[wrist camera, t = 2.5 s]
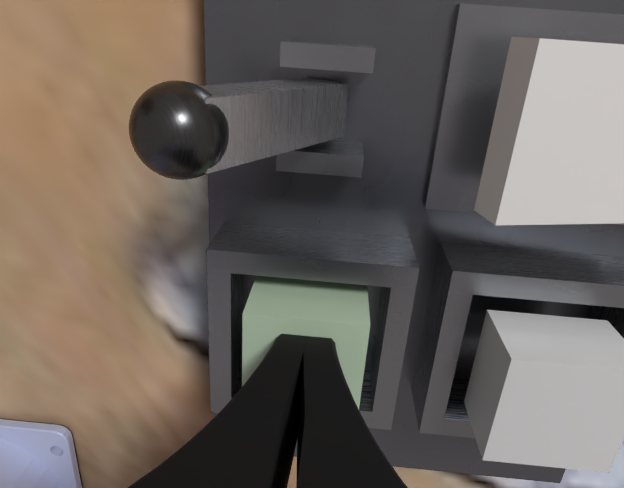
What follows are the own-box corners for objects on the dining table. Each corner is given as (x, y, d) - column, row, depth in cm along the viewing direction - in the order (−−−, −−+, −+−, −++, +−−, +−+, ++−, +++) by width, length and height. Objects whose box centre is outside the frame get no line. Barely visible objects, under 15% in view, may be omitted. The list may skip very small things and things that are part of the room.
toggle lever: (350, 146, 11) (179, 199, 7) (295, 135, 12) (113, 177, 8) (357, 75, 11) (173, 89, 7) (299, 68, 12) (102, 77, 7)
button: (355, 372, 14) (356, 422, 12) (255, 363, 14) (241, 411, 13) (367, 283, 13) (370, 325, 11) (256, 273, 13) (242, 313, 11)
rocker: (652, 208, 12) (684, 222, 11) (474, 210, 11) (495, 225, 10) (711, 51, 10) (754, 53, 10) (511, 36, 9) (539, 37, 9)
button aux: (572, 412, 13) (609, 473, 12) (463, 401, 13) (481, 460, 12) (607, 320, 12) (653, 372, 10) (486, 309, 12) (511, 359, 10)
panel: (549, 448, 18) (590, 533, 15) (224, 417, 18) (200, 492, 15) (768, -156, 11) (936, -229, 8) (217, -188, 11) (167, -269, 8)
